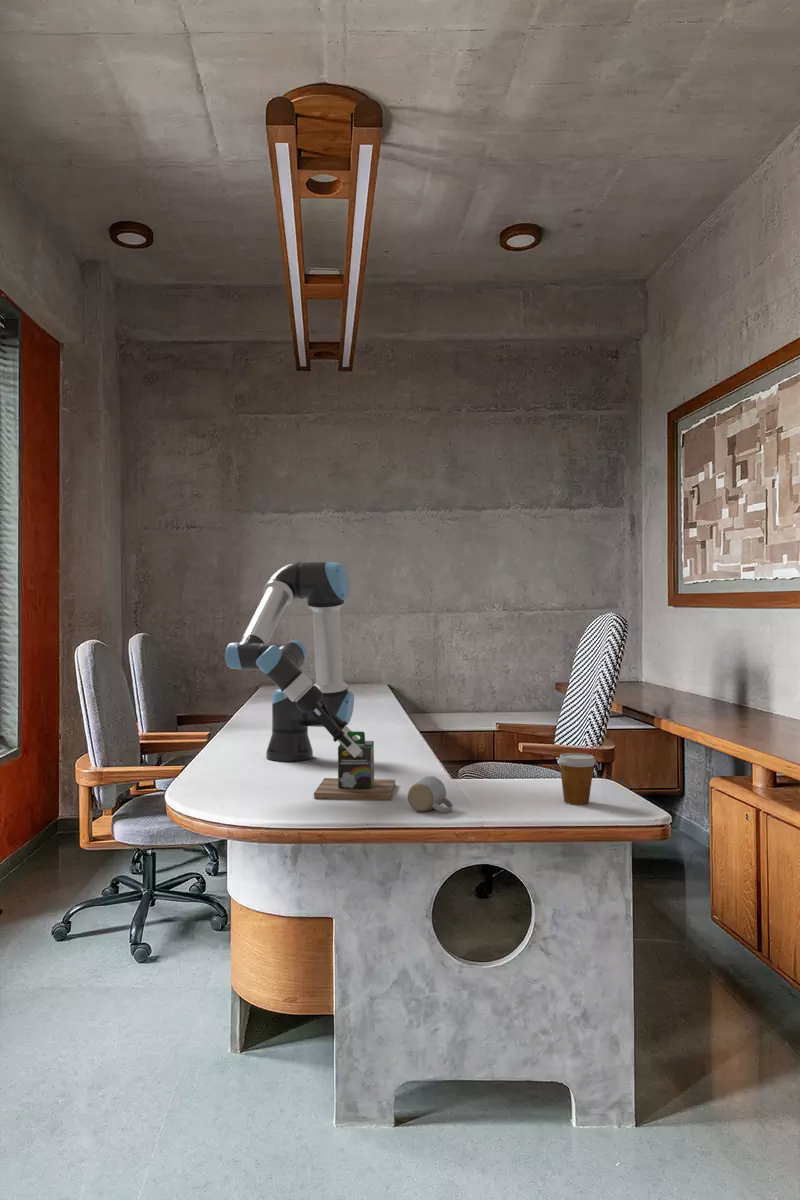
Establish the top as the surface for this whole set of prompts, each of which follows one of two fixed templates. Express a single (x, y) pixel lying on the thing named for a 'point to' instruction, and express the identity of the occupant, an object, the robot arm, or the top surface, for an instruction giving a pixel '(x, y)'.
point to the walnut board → (355, 790)
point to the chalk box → (356, 764)
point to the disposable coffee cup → (576, 777)
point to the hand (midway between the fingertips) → (358, 749)
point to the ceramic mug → (429, 795)
